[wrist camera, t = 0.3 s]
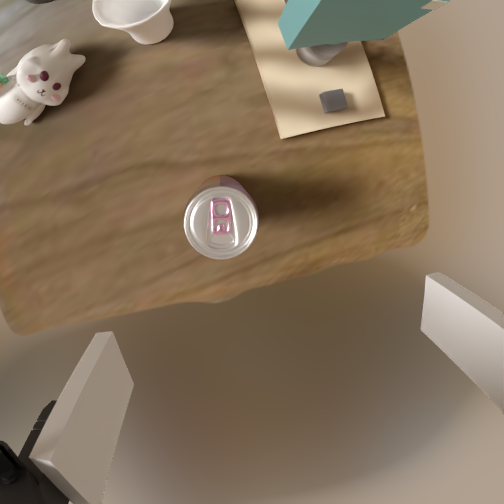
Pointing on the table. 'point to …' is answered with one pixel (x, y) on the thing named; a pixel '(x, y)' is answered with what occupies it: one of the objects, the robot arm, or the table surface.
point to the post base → (308, 75)
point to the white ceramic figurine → (37, 82)
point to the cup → (136, 18)
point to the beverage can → (221, 218)
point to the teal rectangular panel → (348, 20)
